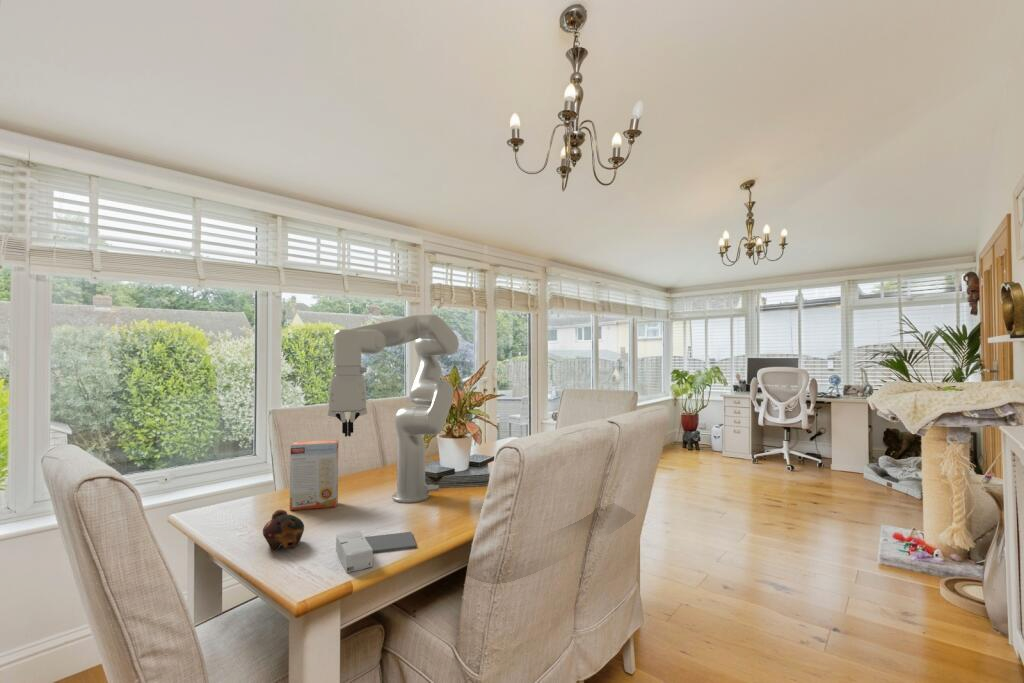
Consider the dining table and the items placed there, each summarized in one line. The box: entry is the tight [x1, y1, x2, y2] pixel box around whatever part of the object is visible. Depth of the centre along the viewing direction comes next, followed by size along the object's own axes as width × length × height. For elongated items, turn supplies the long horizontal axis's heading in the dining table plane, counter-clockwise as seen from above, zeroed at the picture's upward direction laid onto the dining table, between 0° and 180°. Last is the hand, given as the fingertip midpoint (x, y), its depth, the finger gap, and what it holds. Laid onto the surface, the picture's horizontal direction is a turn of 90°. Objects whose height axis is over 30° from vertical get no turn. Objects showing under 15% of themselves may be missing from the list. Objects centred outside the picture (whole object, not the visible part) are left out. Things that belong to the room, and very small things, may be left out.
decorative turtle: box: [262, 509, 305, 551], centre depth 122 cm, size 10×15×8 cm, turn 43°
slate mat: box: [364, 531, 417, 554], centre depth 123 cm, size 15×10×1 cm, turn 109°
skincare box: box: [335, 529, 374, 574], centre depth 113 cm, size 6×4×12 cm
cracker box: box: [289, 439, 339, 511], centre depth 154 cm, size 14×6×21 cm, turn 104°
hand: (347, 435), depth 136 cm, fingers closed
